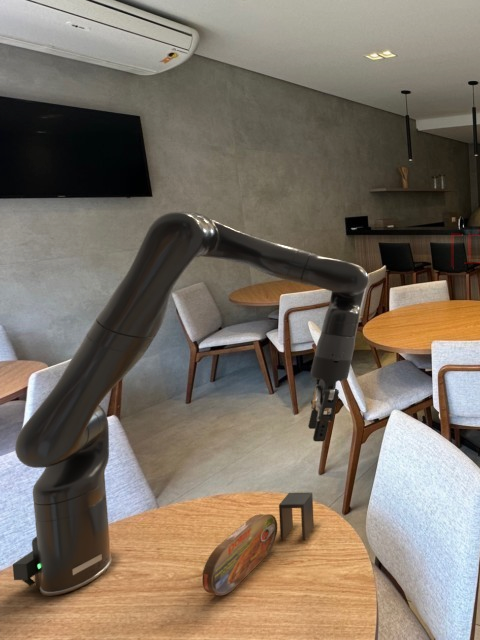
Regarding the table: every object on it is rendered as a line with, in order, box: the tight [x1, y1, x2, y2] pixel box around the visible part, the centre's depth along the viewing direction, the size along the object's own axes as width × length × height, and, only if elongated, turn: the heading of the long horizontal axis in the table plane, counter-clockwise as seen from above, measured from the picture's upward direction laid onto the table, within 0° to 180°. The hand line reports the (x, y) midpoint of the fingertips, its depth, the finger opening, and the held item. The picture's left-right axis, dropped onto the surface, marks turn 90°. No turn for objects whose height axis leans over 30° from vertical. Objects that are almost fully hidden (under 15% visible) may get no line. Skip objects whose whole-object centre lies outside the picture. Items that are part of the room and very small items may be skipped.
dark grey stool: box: [278, 491, 315, 542], centre depth 89 cm, size 5×4×8 cm
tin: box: [202, 513, 278, 596], centre depth 79 cm, size 15×3×8 cm, turn 168°
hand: (315, 434), depth 86 cm, fingers open, 8 cm apart
